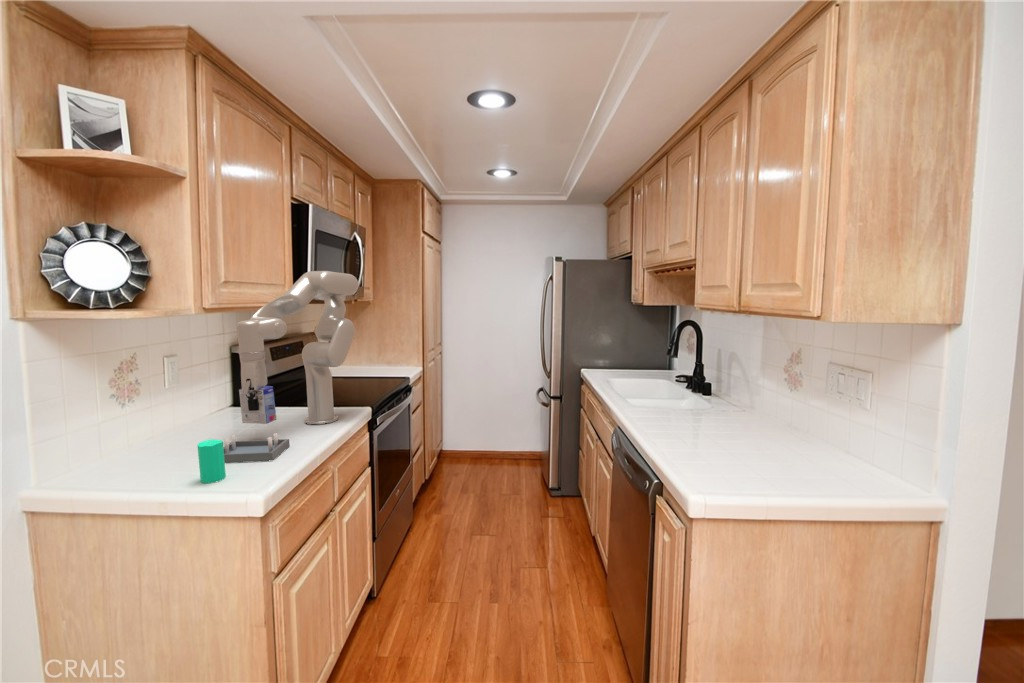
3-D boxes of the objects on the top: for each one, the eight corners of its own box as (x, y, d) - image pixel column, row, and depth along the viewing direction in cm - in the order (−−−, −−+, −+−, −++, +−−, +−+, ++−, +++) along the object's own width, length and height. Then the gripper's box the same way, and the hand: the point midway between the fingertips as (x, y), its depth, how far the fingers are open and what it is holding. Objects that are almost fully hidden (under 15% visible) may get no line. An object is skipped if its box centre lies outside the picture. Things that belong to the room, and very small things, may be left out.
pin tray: (233, 448, 163) (232, 431, 163) (289, 446, 165) (288, 428, 164) (211, 463, 149) (209, 444, 149) (272, 461, 151) (271, 442, 150)
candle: (199, 478, 138) (196, 436, 136) (224, 473, 141) (221, 432, 140) (201, 485, 133) (197, 441, 132) (227, 479, 136) (223, 437, 135)
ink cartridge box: (277, 419, 173) (273, 379, 170) (267, 424, 167) (262, 383, 165) (253, 418, 175) (248, 378, 172) (241, 423, 169) (236, 382, 167)
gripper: (252, 352, 176) (257, 401, 179) (228, 361, 159) (235, 415, 161) (274, 351, 176) (279, 400, 179) (253, 360, 159) (259, 414, 162)
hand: (258, 407), depth 170 cm, fingers closed on ink cartridge box, 6 cm apart
